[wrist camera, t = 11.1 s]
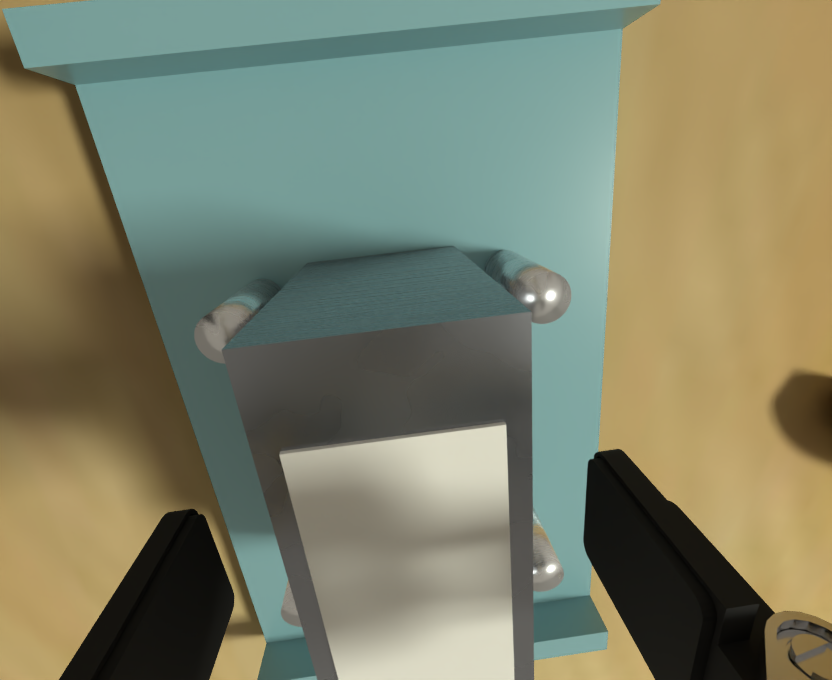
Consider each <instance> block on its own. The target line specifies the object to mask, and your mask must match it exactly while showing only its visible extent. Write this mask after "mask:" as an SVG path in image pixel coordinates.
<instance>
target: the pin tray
mask: <svg viewBox="0 0 832 680" xmlns="http://www.w3.org/2000/svg"><path fill="white" fill-rule="evenodd" d="M659 4H660V0H91V1H80V2H70V3H60V4H49V5H39V6H29V7H18V8H8V9H2V10H3V13H4V16H5V18H6V21H7V24H8V26H9V29H10V32H11V34H12V37H13V40H14V42H15V45H16V48H17V50H18V53H19V56H20V58H21V61H22V64H23V66H24V68H25V69H28V70H31V71H34V72H37V73H40V74H43V75H46V76H49V77H52V78H55V79H58V80H61V81H64V82H67V83H70V84H73V85H75V86H76V89H77V92H78V95H79V98H80V101H81V104H82V107H83V109H84V112H85V115H86V118H87V121H88V124H89V127H90V130H91V133H92V136H93V139H94V142H95V144H96V147H97V150H98V153H99V156H100V159H101V162H102V165H103V168H104V171H105V174H106V176H107V179H108V182H109V185H110V188H111V191H112V194H113V197H114V200H115V203H116V206H117V209H118V211H119V214H120V217H121V220H122V223H123V226H124V229H125V232H126V235H127V238H128V241H129V244H130V246H131V249H132V252H133V255H134V258H135V261H136V264H137V267H138V270H139V273H140V276H141V278H142V281H143V284H144V287H145V290H146V293H147V296H148V299H149V302H150V305H151V308H152V311H153V313H154V316H155V319H156V322H157V325H158V328H159V331H160V334H161V337H162V340H163V343H164V345H165V348H166V351H167V354H168V357H169V360H170V363H171V366H172V369H173V372H174V375H175V378H176V380H177V383H178V386H179V389H180V392H181V395H182V398H183V401H184V404H185V407H186V410H187V413H188V415H189V418H190V421H191V424H192V427H193V430H194V433H195V436H196V439H197V442H198V445H199V447H200V450H201V453H202V456H203V459H204V462H205V465H206V468H207V471H208V474H209V477H210V480H211V482H212V485H213V488H214V491H215V494H216V497H217V500H218V503H219V506H220V509H221V512H222V515H223V517H224V520H225V523H226V526H227V529H228V532H229V535H230V538H231V541H232V544H233V547H234V549H235V552H236V555H237V558H238V561H239V564H240V567H241V570H242V573H243V576H244V579H245V582H246V584H247V587H248V590H249V593H250V596H251V599H252V602H253V605H254V608H255V611H256V614H257V617H258V619H259V622H260V625H261V628H262V631H263V634H264V637H265V640H266V643H267V644H266V648H265V652H264V656H263V659H262V663H261V667H260V671H259V675H258V679H257V680H317V677H316V674H315V670H314V667H313V663H312V660H311V657H310V653H309V650H308V646H307V643H306V639H305V636H304V632H303V629H302V626H301V622H300V619H299V615H298V612H297V608H296V605H295V601H294V598H293V595H292V591H291V588H290V584H289V581H288V577H287V574H286V571H285V567H284V564H283V560H282V557H281V553H280V550H279V546H278V543H277V540H276V536H275V533H274V529H273V526H272V522H271V519H270V515H269V512H268V509H267V505H266V502H265V498H264V495H263V491H262V488H261V485H260V481H259V478H258V474H257V471H256V467H255V464H254V460H253V457H252V454H251V450H250V447H249V443H248V440H247V436H246V433H245V429H244V426H243V423H242V419H241V416H240V412H239V409H238V405H237V402H236V399H235V395H234V392H233V388H232V385H231V381H230V378H229V374H228V371H227V368H226V364H225V361H224V357H223V354H222V349H223V348H224V347H225V346H226V345H227V344H228V343H229V342H230V341H231V339H232V338H233V337H234V336H235V335H236V334H237V333H238V332H239V331H240V330H241V329H242V328H243V327H244V326H245V325H246V324H247V323H248V322H249V321H250V320H251V319H252V318H253V317H254V316H255V315H256V314H257V313H258V312H259V311H260V310H261V309H262V308H263V307H264V306H265V305H266V304H267V303H268V302H269V301H270V300H271V299H272V298H273V297H274V296H275V295H276V294H277V293H278V292H279V291H280V290H281V289H282V288H283V287H284V286H285V285H286V284H287V283H288V282H289V281H290V280H291V279H292V278H293V277H294V276H295V275H296V274H297V273H298V272H299V271H300V270H301V269H302V268H303V267H304V266H305V264H306V263H310V262H318V261H327V260H335V259H344V258H352V257H361V256H370V255H378V254H387V253H395V252H404V251H412V250H421V249H429V248H438V247H446V246H454V247H456V248H457V249H458V250H459V251H460V252H462V253H463V254H464V255H465V256H466V257H467V258H469V259H470V260H471V261H472V262H473V263H475V264H476V265H477V266H478V267H479V268H481V269H482V270H483V271H484V272H485V273H486V274H488V275H489V276H490V277H491V278H492V279H494V280H495V281H496V282H497V283H498V284H499V285H501V286H502V287H503V288H504V289H505V290H507V291H508V292H509V293H510V294H511V295H512V296H514V297H515V298H516V299H517V300H518V301H520V302H521V303H522V304H523V305H524V306H525V307H527V308H528V309H529V310H530V311H531V312H532V459H533V610H534V660H539V659H546V658H552V657H559V656H565V655H572V654H578V653H585V652H592V651H598V650H605V649H607V639H608V630H607V628H606V626H605V624H604V622H603V621H602V619H601V617H600V615H599V613H598V611H597V609H596V607H595V605H594V603H593V601H592V599H591V597H590V583H591V566H592V564H591V562H590V560H589V558H588V556H587V554H586V551H585V548H584V543H583V536H584V519H585V502H586V485H587V468H588V461H589V460H590V459H594V455H595V453H596V452H598V445H599V428H600V410H601V393H602V376H603V358H604V341H605V324H606V307H607V289H608V272H609V255H610V237H611V220H612V203H613V186H614V168H615V151H616V134H617V116H618V99H619V82H620V64H621V47H622V30H623V28H624V27H626V26H627V25H629V24H631V23H632V22H634V21H635V20H637V19H638V18H640V17H641V16H643V15H644V14H646V13H647V12H649V11H650V10H652V9H653V8H655V7H656V6H658V5H659Z"/></svg>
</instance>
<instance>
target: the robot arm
mask: <svg viewBox="0 0 832 680" xmlns="http://www.w3.org/2000/svg"><path fill="white" fill-rule="evenodd" d="M583 543H584V548H585V551H586V554H587V556H588V558H589V560H590V562H591V564H592V565H593V567H594V569H595V571H596V573H597V574H598V576H599V578H600V580H601V582H602V584H603V585H604V587H605V589H606V591H607V593H608V594H609V596H610V598H611V600H612V602H613V604H614V605H615V607H616V609H617V611H618V613H619V614H620V616H621V618H622V620H623V622H624V624H625V625H626V627H627V629H628V631H629V633H630V634H631V636H632V638H633V640H634V642H635V644H636V645H637V647H638V649H639V651H640V653H641V654H642V656H643V658H644V660H645V662H646V663H647V665H648V667H649V669H650V671H651V673H652V674H653V676H654V678H655V680H832V624H831V623H829V622H827V621H824V620H822V619H820V618H818V617H816V616H812V615H809V614H805V613H802V612H794V611H783V612H779V613H774V612H773V610H772V609H771V608H770V607H769V606H768V605H767V604H766V603H765V602H764V601H763V599H762V598H761V597H760V596H759V595H758V594H757V593H756V592H755V591H754V590H753V588H752V587H751V586H750V585H749V584H748V583H747V582H746V581H745V580H744V579H743V577H742V576H741V575H740V574H739V573H738V572H737V571H736V570H735V569H734V568H733V566H732V565H731V564H730V563H729V562H728V561H727V560H726V559H725V558H724V557H723V555H722V554H721V553H720V552H719V551H718V550H717V549H716V548H715V547H714V546H713V544H712V543H711V542H710V541H709V540H708V539H707V538H706V537H705V536H704V535H703V533H702V532H701V531H700V530H699V529H698V528H697V527H696V526H695V525H694V524H693V522H692V521H691V520H690V519H689V518H688V517H687V516H686V515H685V514H684V513H683V511H682V510H681V509H680V508H679V507H678V506H677V505H675V504H674V503H673V502H671V501H668V500H666V498H665V497H664V496H663V495H662V494H661V493H660V492H659V491H658V490H657V488H656V487H655V486H654V485H653V484H652V483H651V482H650V481H649V479H648V478H647V477H646V476H645V475H644V474H643V473H642V472H641V470H640V469H639V468H638V467H637V466H636V465H635V464H634V463H633V462H632V460H631V459H630V458H629V457H628V456H627V455H626V454H625V453H624V452H623V451H622V450H620V449H615V450H608V451H601V452H596V453H595V455H594V459H590V460H589V461H588V468H587V485H586V502H585V519H584V536H583ZM233 607H234V593H233V589H232V587H231V584H230V582H229V579H228V576H227V574H226V571H225V568H224V566H223V563H222V560H221V558H220V555H219V553H218V550H217V547H216V545H215V542H214V539H213V537H212V534H211V531H210V529H209V526H208V523H207V521H206V518H205V516H204V515H203V514H199V515H198V513H197V511H196V510H194V509H189V510H181V511H174V512H168V513H166V514H165V515H164V516H163V517H162V519H161V521H160V522H159V524H158V525H157V527H156V528H155V530H154V532H153V533H152V535H151V536H150V538H149V539H148V541H147V543H146V544H145V546H144V547H143V549H142V550H141V552H140V553H139V555H138V557H137V558H136V560H135V561H134V563H133V564H132V566H131V568H130V569H129V571H128V572H127V574H126V575H125V577H124V579H123V580H122V582H121V583H120V585H119V586H118V588H117V590H116V591H115V593H114V594H113V596H112V597H111V599H110V601H109V602H108V604H107V605H106V607H105V608H104V610H103V611H102V613H101V615H100V616H99V618H98V619H97V621H96V622H95V624H94V626H93V627H92V629H91V630H90V632H89V633H88V635H87V637H86V638H85V640H84V641H83V643H82V644H81V646H80V648H79V649H78V651H77V652H76V654H75V655H74V657H73V659H72V660H71V662H70V663H69V665H68V666H67V668H66V669H65V671H64V673H63V674H62V676H61V677H60V679H59V680H209V679H210V676H211V673H212V670H213V667H214V664H215V661H216V658H217V655H218V652H219V649H220V646H221V643H222V640H223V637H224V634H225V631H226V628H227V625H228V622H229V620H230V617H231V614H232V611H233Z"/></svg>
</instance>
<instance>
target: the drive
mask: <svg viewBox="0 0 832 680" xmlns="http://www.w3.org/2000/svg"><path fill="white" fill-rule="evenodd" d="M222 354H223V357H224V361H225V364H226V368H227V371H228V374H229V378H230V381H231V385H232V388H233V392H234V395H235V399H236V402H237V405H238V409H239V412H240V416H241V419H242V423H243V426H244V429H245V433H246V436H247V440H248V443H249V447H250V450H251V454H252V457H253V460H254V464H255V467H256V471H257V474H258V478H259V481H260V485H261V488H262V491H263V495H264V498H265V502H266V505H267V509H268V512H269V515H270V519H271V522H272V526H273V529H274V533H275V536H276V540H277V543H278V546H279V550H280V553H281V557H282V560H283V564H284V567H285V571H286V574H287V577H288V581H289V584H290V588H291V591H292V595H293V598H294V601H295V605H296V608H297V612H298V615H299V619H300V622H301V626H302V629H303V632H304V636H305V639H306V643H307V646H308V650H309V653H310V657H311V660H312V663H313V667H314V670H315V674H316V677H317V680H534V610H533V459H532V312H531V311H530V310H529V309H528V308H527V307H525V306H524V305H523V304H522V303H521V302H520V301H518V300H517V299H516V298H515V297H514V296H512V295H511V294H510V293H509V292H508V291H507V290H505V289H504V288H503V287H502V286H501V285H499V284H498V283H497V282H496V281H495V280H494V279H492V278H491V277H490V276H489V275H488V274H486V273H485V272H484V271H483V270H482V269H481V268H479V267H478V266H477V265H476V264H475V263H473V262H472V261H471V260H470V259H469V258H467V257H466V256H465V255H464V254H463V253H462V252H460V251H459V250H458V249H457V248H456V247H454V246H446V247H438V248H429V249H421V250H412V251H404V252H395V253H387V254H378V255H370V256H361V257H352V258H344V259H335V260H327V261H318V262H310V263H306V264H305V266H304V267H303V268H302V269H301V270H300V271H299V272H298V273H297V274H296V275H295V276H294V277H293V278H292V279H291V280H290V281H289V282H288V283H287V284H286V285H285V286H284V287H283V288H282V289H281V290H280V291H279V292H278V293H277V294H276V295H275V296H274V297H273V298H272V299H271V300H270V301H269V302H268V303H267V304H266V305H265V306H264V307H263V308H262V309H261V310H260V311H259V312H258V313H257V314H256V315H255V316H254V317H253V318H252V319H251V320H250V321H249V322H248V323H247V324H246V325H245V326H244V327H243V328H242V329H241V330H240V331H239V332H238V333H237V334H236V335H235V336H234V337H233V338H232V339H231V341H230V342H229V343H228V344H227V345H226V346H225V347H224V348H223V349H222Z"/></svg>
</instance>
